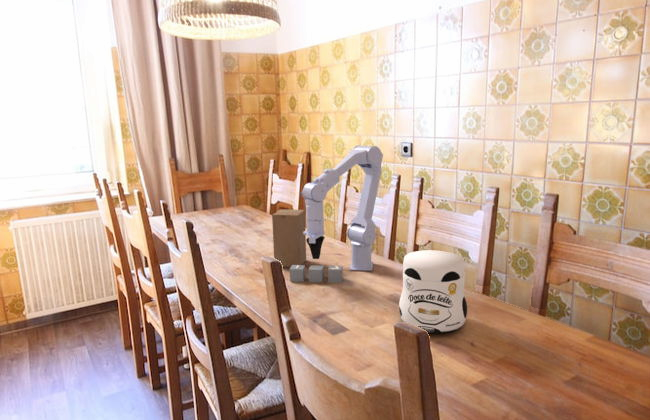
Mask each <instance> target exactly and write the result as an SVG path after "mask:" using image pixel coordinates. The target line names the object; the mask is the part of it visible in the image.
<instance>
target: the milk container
mask: <svg viewBox="0 0 650 420" xmlns="http://www.w3.org/2000/svg"><path fill="white" fill-rule="evenodd" d="M403 257H404V258H403V263H402V270H403V271H402V291H401V295H400V297H399V301H398V302H399V303H398V309H399V316H400V317H401V320H402V321H403V323H404V322H406V323H409V324H412V325H415V326H418V327H420V328H422V329H424V330H426V331H427V332H428V333H429V334H446V333H451V332H454V331H457V330H458V329H460V328H462V327H463V326H464V324H465V322H466V321H467V320H466V319H467V315H468V303H467V300H466V295H465V282H466V275H465V273H466V263H465V260H464V258H463V256H461V255H459V254H457V253H453V252H449V251H444V250H434V249H433V250H432V249H428V250H427V249H425V250H424V249H423V250H418V251H411V252H409V253H406V255H404V256H403ZM427 332H426V333H427Z"/></svg>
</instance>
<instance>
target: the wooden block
mask: <svg viewBox="0 0 650 420" xmlns="http://www.w3.org/2000/svg"><path fill="white" fill-rule="evenodd" d="M271 218H272V219H271V220H272V240H273V241H272V243H273V244H272V245H273V259H274V258H275V259H277V260H279V261H281V263H282V265H283V267H282V268H291V266H292V265H304V263H305V262H306V260H307V241H306V239H307V238H306V236H307V235H304V234H303V232H304V231H306V210H305V209H279V210H277V211H276V212H273V214H272V215H271Z"/></svg>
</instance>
